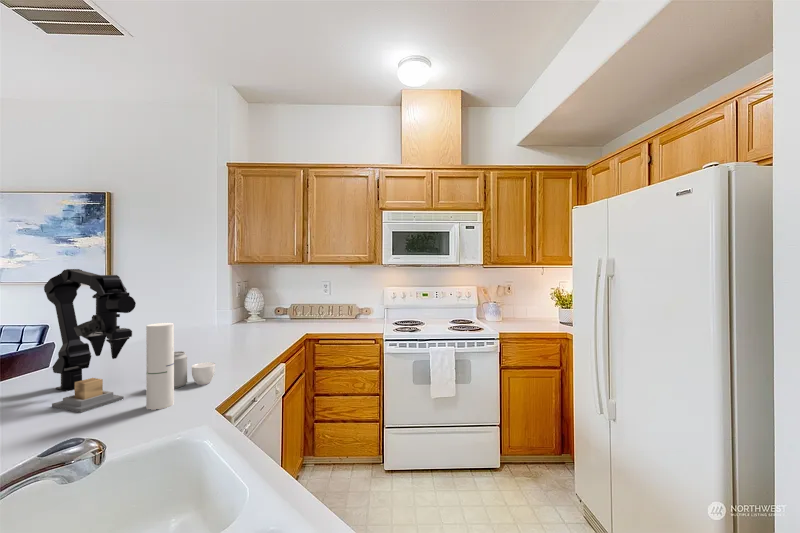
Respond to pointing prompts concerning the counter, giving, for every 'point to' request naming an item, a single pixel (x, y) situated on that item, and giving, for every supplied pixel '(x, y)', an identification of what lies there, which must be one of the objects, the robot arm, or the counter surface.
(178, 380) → the can
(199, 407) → the counter surface
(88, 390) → the oak block
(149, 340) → the cylindrical container
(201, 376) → the cup
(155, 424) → the counter surface
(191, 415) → the counter surface
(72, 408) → the grey tray
